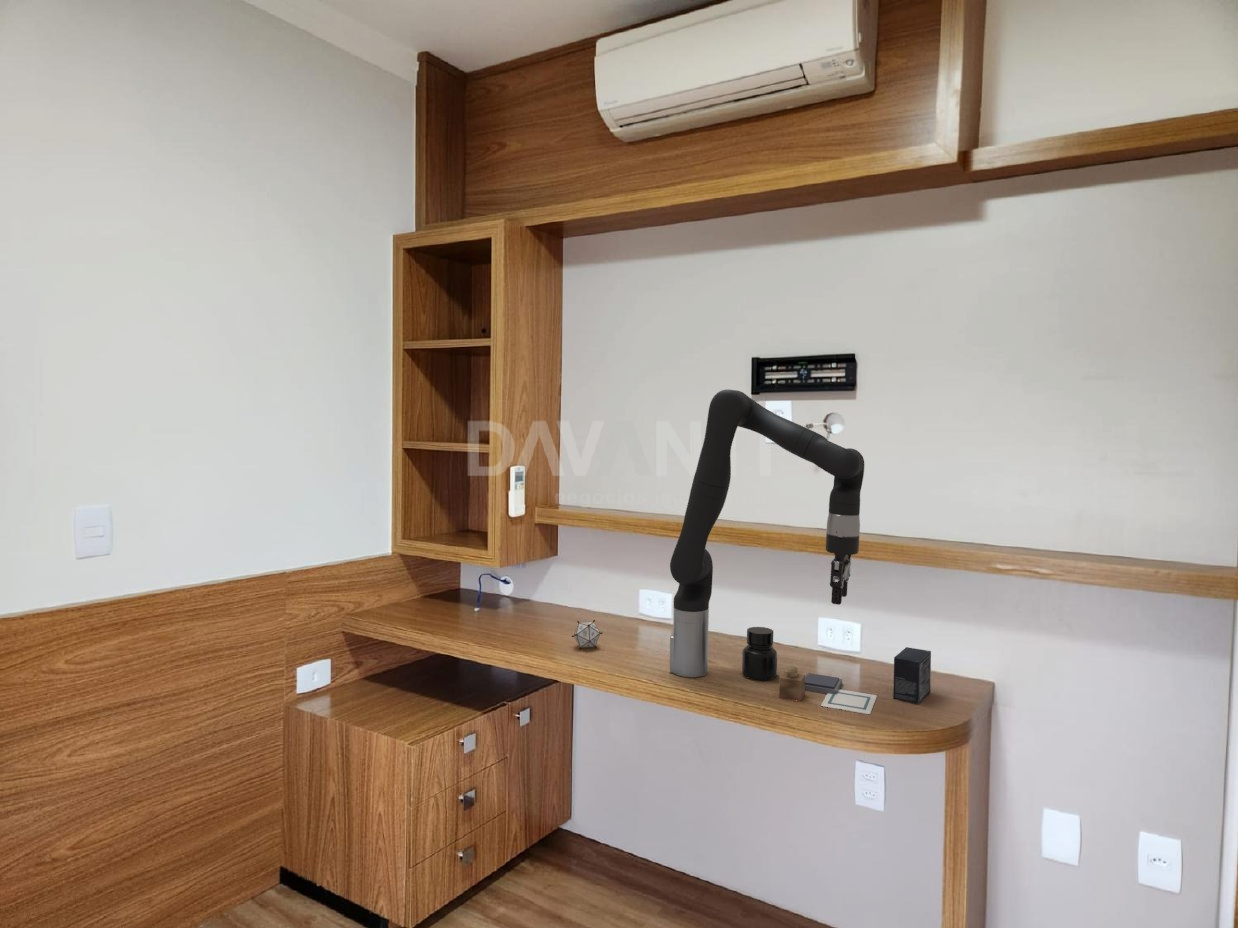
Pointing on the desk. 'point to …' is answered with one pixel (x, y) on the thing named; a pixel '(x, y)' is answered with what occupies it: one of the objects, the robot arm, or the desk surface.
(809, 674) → the ink pad
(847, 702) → the sheet
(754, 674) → the ink bottle
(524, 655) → the desk surface
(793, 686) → the stamp
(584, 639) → the game die
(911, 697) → the small box
